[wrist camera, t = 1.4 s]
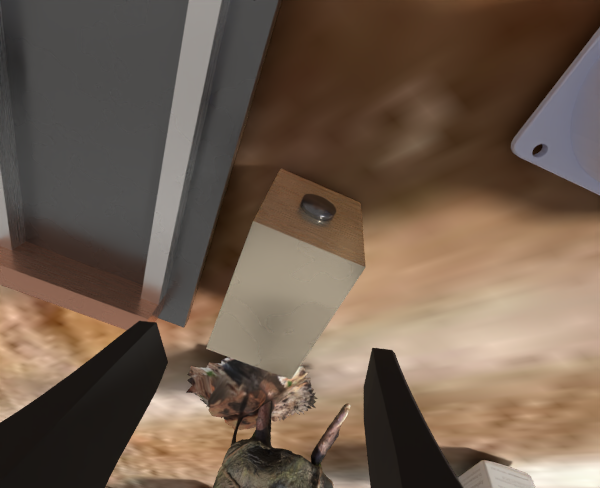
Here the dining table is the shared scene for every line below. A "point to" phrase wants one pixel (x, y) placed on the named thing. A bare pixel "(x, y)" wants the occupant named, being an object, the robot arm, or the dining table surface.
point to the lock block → (290, 275)
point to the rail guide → (121, 146)
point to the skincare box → (495, 477)
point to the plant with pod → (262, 424)
